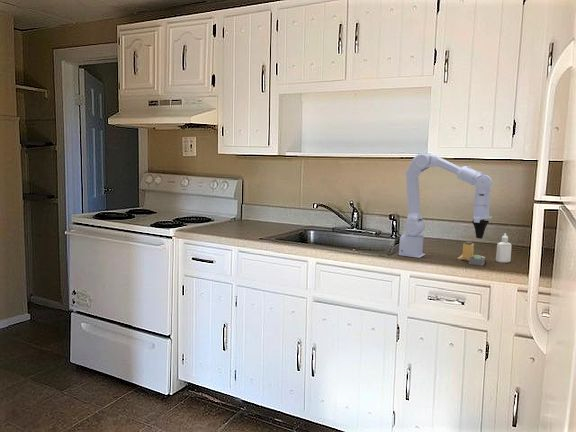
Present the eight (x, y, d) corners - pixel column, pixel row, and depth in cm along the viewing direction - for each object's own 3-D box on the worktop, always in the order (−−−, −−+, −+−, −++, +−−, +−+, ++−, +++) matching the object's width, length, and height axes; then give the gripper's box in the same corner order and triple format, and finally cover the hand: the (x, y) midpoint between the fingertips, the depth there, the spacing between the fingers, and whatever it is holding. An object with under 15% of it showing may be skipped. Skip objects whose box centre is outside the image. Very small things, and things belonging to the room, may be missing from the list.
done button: (472, 262, 194) (473, 255, 193) (474, 261, 196) (474, 254, 196) (479, 263, 192) (480, 256, 192) (481, 262, 195) (481, 255, 194)
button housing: (469, 263, 194) (469, 258, 193) (472, 261, 198) (472, 255, 197) (482, 265, 191) (482, 259, 191) (484, 263, 195) (485, 257, 195)
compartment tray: (456, 259, 201) (456, 257, 201) (462, 255, 209) (462, 253, 209) (480, 262, 196) (480, 260, 196) (485, 258, 204) (485, 256, 204)
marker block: (462, 257, 202) (463, 242, 201) (464, 255, 205) (465, 241, 204) (470, 258, 200) (472, 243, 199) (473, 257, 203) (474, 242, 202)
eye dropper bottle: (510, 263, 196) (513, 234, 194) (496, 262, 197) (498, 233, 196) (509, 261, 200) (512, 233, 198) (495, 260, 202) (497, 232, 200)
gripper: (488, 207, 184) (485, 242, 186) (496, 204, 196) (493, 236, 197) (469, 205, 188) (467, 239, 189) (478, 202, 199) (475, 234, 201)
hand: (479, 238), depth 194 cm, fingers closed
